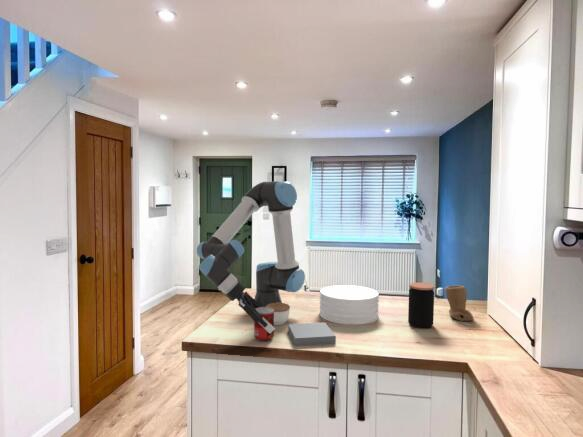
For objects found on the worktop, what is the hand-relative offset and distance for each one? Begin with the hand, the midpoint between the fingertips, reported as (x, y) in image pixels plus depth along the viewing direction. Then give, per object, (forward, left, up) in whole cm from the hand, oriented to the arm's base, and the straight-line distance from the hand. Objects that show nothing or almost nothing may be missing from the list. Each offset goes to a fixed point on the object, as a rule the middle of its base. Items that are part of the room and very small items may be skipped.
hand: (272, 327), depth 147 cm
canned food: (0, -3, -4) cm, 5 cm away
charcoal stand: (+1, +16, -5) cm, 16 cm away
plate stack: (-25, +40, -5) cm, 48 cm away
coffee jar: (-6, +68, -5) cm, 68 cm away
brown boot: (-14, +92, -5) cm, 93 cm away
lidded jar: (-18, +5, -5) cm, 20 cm away
